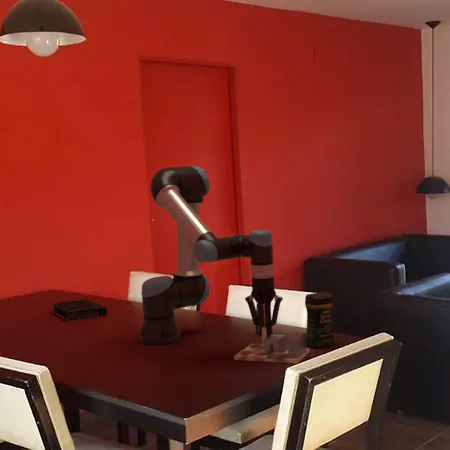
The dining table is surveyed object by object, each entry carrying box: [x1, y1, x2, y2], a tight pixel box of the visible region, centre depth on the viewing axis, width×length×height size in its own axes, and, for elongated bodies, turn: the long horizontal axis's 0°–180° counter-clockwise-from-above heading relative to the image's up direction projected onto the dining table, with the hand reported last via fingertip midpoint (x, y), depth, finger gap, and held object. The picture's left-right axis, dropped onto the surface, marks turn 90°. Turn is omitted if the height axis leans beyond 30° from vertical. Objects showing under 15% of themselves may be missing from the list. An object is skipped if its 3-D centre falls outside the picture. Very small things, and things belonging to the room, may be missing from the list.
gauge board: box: [233, 343, 311, 365], centre depth 248 cm, size 22×14×2 cm, turn 67°
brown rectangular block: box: [287, 331, 307, 358], centre depth 245 cm, size 3×10×6 cm, turn 157°
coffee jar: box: [304, 291, 335, 348], centre depth 258 cm, size 10×8×19 cm
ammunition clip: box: [255, 304, 274, 336], centre depth 276 cm, size 11×2×12 cm, turn 24°
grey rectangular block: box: [264, 333, 287, 355], centre depth 246 cm, size 5×11×5 cm, turn 157°
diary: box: [50, 298, 108, 321], centre depth 333 cm, size 19×25×5 cm
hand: (266, 345), depth 249 cm, fingers closed
